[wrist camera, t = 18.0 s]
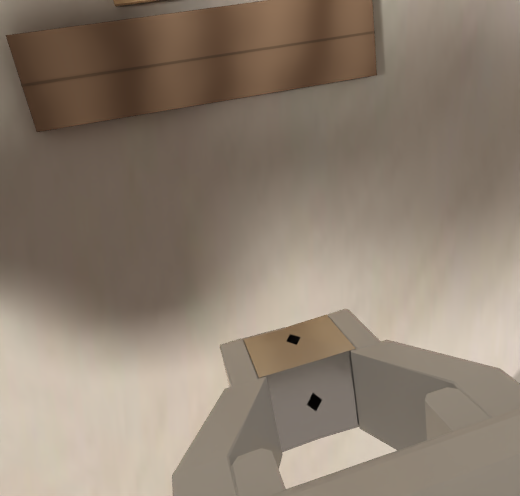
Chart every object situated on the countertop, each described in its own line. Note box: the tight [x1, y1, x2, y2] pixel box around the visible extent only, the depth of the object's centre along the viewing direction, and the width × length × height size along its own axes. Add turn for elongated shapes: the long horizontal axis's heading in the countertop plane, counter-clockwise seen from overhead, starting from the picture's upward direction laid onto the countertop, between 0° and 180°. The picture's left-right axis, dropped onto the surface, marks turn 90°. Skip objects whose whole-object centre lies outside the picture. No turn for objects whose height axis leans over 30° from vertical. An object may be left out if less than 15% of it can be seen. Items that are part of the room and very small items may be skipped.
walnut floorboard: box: [6, 0, 377, 132], centre depth 31 cm, size 25×6×1 cm, turn 99°
